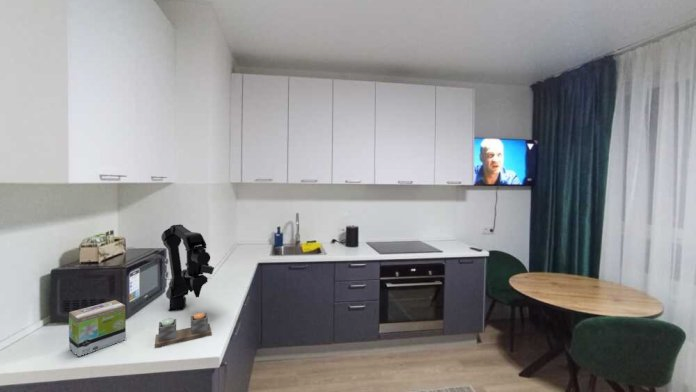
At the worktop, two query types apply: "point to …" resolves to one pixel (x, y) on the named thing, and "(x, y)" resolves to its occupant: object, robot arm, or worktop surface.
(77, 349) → the tea box
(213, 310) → the worktop surface
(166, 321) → the sage button
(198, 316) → the terracotta button
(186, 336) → the button board
